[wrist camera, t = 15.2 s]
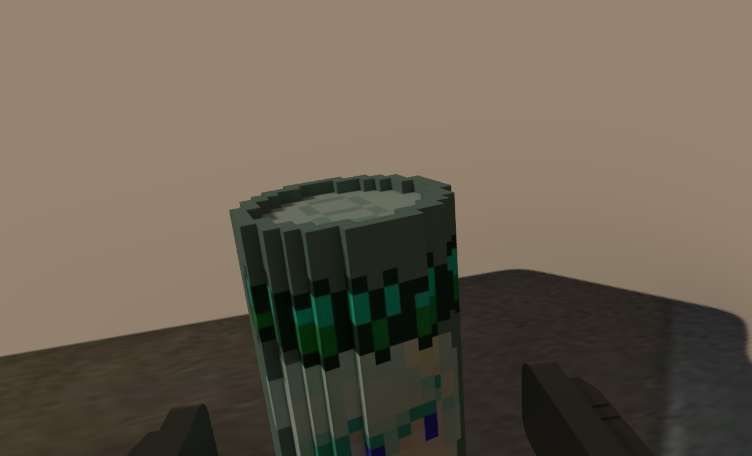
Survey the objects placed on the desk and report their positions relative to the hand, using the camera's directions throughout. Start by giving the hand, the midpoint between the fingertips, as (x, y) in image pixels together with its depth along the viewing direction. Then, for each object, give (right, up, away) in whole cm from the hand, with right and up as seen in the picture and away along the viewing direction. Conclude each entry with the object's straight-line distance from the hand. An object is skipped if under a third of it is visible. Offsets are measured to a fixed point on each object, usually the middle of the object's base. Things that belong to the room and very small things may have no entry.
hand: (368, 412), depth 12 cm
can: (+1, -9, +6) cm, 11 cm away
